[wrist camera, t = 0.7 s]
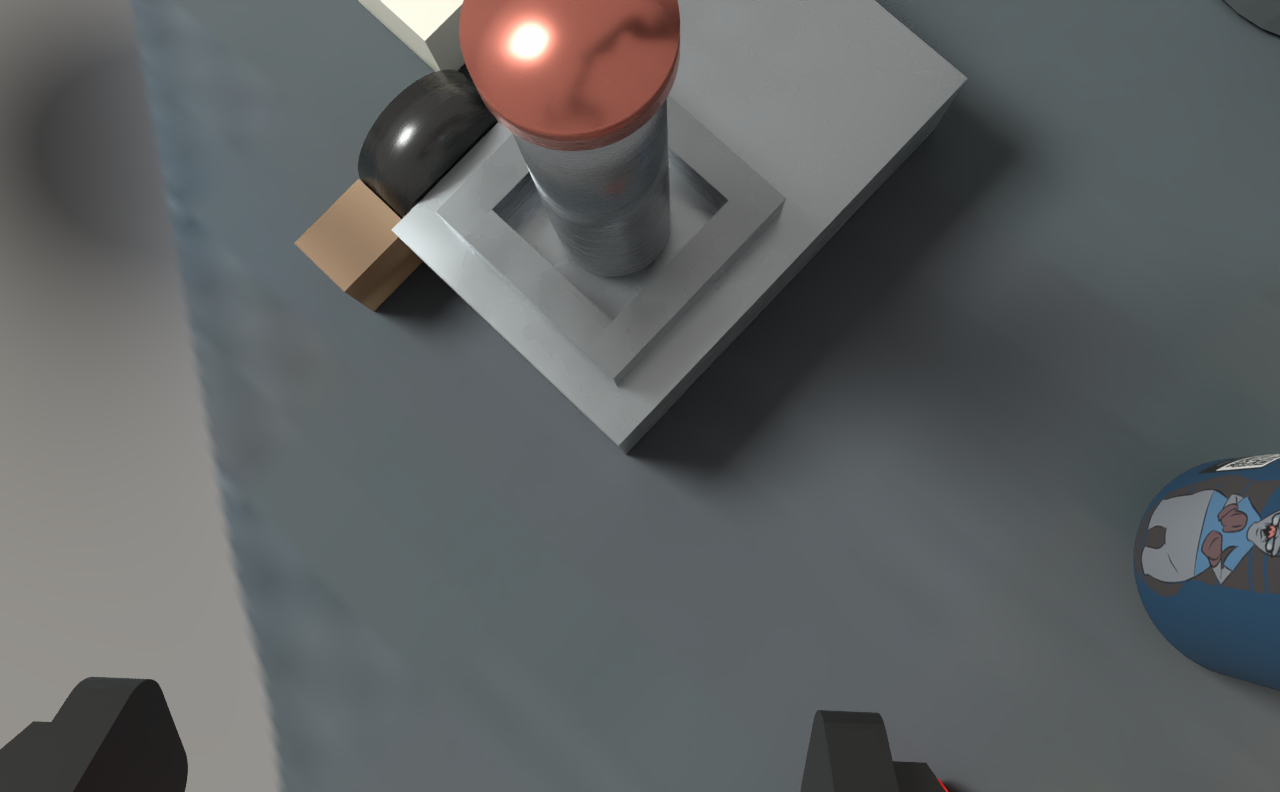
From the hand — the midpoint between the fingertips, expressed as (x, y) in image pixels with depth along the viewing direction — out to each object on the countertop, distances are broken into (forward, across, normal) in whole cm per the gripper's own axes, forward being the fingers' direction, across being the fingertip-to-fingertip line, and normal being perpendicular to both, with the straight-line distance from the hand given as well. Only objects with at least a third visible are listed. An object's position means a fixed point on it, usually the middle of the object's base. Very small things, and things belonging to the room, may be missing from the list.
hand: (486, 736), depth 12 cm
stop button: (+20, 0, +2) cm, 21 cm away
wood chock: (+24, +8, +5) cm, 25 cm away
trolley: (+26, -2, +2) cm, 26 cm away
